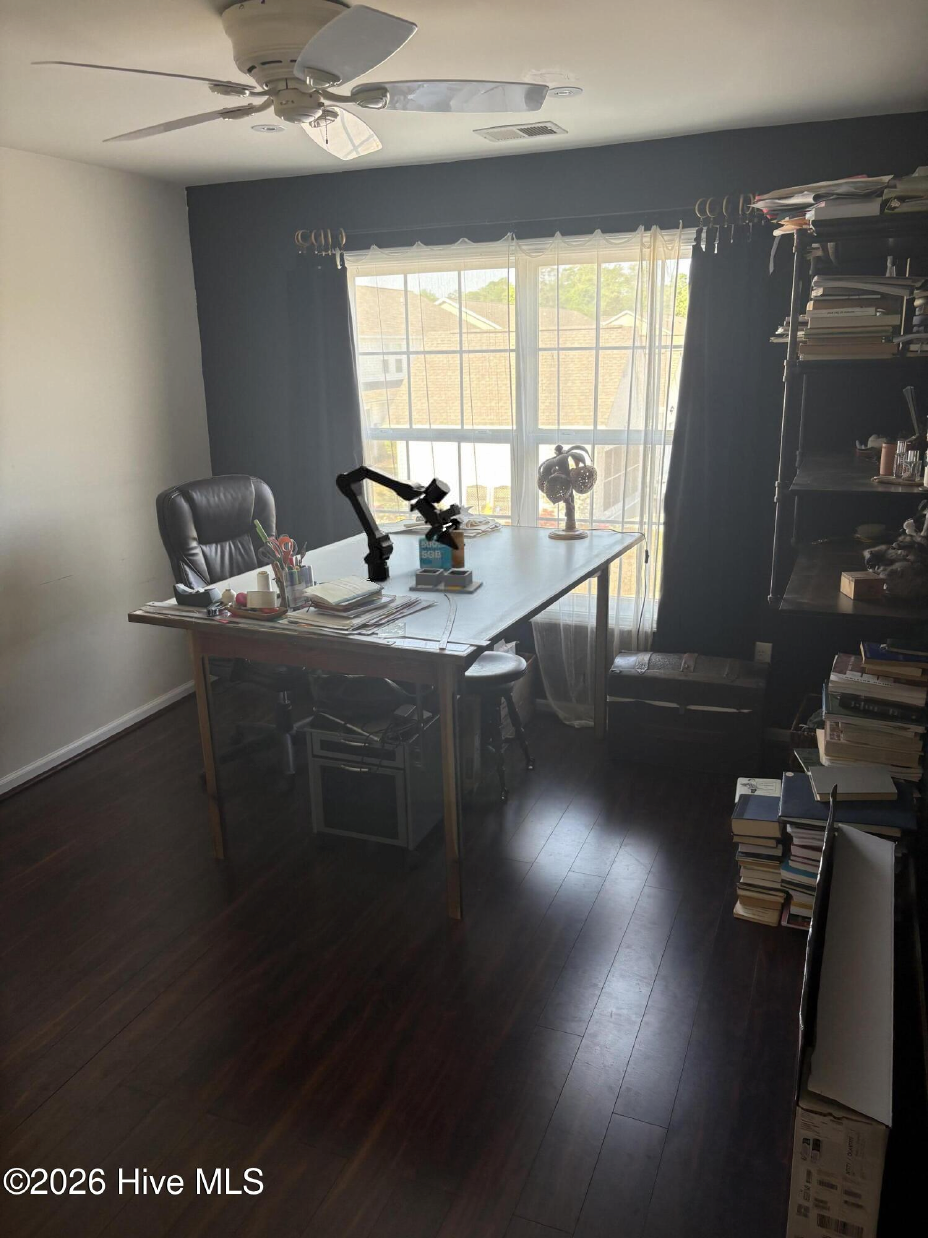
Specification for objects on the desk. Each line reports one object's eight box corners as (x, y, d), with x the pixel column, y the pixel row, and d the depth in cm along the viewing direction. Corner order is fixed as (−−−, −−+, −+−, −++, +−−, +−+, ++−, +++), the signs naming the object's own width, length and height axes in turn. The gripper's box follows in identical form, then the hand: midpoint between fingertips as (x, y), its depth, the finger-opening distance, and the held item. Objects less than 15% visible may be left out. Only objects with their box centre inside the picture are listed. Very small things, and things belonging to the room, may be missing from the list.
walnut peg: (448, 567, 297) (447, 531, 293) (456, 564, 300) (455, 529, 297) (459, 569, 294) (458, 533, 291) (467, 566, 297) (466, 530, 294)
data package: (420, 571, 323) (418, 538, 319) (419, 568, 327) (418, 535, 324) (453, 569, 324) (452, 536, 320) (452, 566, 328) (451, 534, 325)
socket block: (409, 590, 297) (408, 575, 295) (421, 581, 308) (420, 567, 306) (472, 593, 290) (472, 578, 289) (482, 584, 301) (482, 570, 300)
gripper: (432, 500, 284) (464, 537, 282) (458, 492, 300) (488, 526, 299) (411, 523, 290) (442, 559, 288) (437, 514, 306) (467, 548, 304)
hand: (461, 547), depth 295 cm, fingers closed on walnut peg, 4 cm apart
